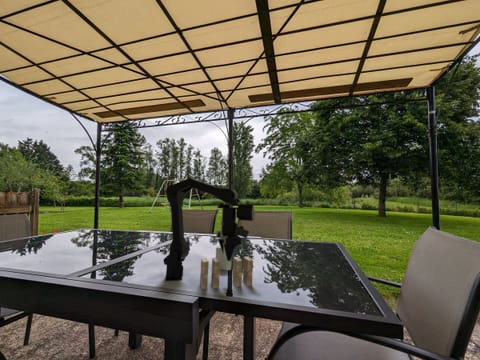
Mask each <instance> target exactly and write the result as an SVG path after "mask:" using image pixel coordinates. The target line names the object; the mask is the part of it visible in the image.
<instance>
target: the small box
mask: <svg viewBox="0 0 480 360" xmlns="http://www.w3.org/2000/svg"><path fill="white" fill-rule="evenodd" d="M215 258H218V259H219V260H220V271H227V270H226V269H225V268H224V267H223V253H222V250H221V247H220V245H219V246H216V247H215Z"/></svg>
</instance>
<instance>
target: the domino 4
mask: <svg viewBox="0 0 480 360" xmlns="http://www.w3.org/2000/svg"><path fill="white" fill-rule="evenodd" d="M232 259H233V260H232V261H233V262H232V283H233V284H234V286H235V287H236V288H241V287H242V284H243V283H242V282H243V259H241V258H240V257H239V256H233V257H232Z"/></svg>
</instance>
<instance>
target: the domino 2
mask: <svg viewBox="0 0 480 360" xmlns="http://www.w3.org/2000/svg"><path fill="white" fill-rule="evenodd" d="M211 261H212V262H211V277H210V284H211V286H212V287H213V289H214V290H215V289H219V288H220V272H221V270H220V260H219V259H218V258H216V257H212V259H211Z"/></svg>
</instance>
